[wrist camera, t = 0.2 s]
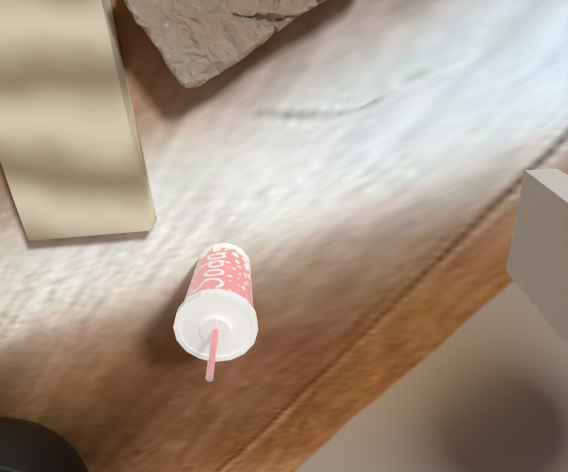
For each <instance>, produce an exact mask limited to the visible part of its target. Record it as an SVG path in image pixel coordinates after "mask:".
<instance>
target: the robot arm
mask: <svg viewBox="0 0 568 472" xmlns="http://www.w3.org/2000/svg"><path fill="white" fill-rule="evenodd" d="M506 272H507V273H508V274H509V275H510V276H511V278H512V279H513V280H514V281H515V283H516V284H517V285H518V286H519V288H520V289H521V290H522V291H523V293H524V294H525V295H526V296H527V297H528V299H529V300H530V301H531V302H532V304H533V305H534V306H535V307H536V309H537V310H538V311H539V312H540V314H541V315H542V316H543V317H544V318H545V320H546V321H547V322H548V323H549V325H550V326H551V327H552V328H553V330H554V331H555V332H556V333H557V335H558V336H559V337H560V338H561V339H562V341H563V342H564V343H565V344H566V346H567V347H568V175H566V174H565V173H563V172H562V171H560V170H559V169H542V170H525V173H524V178H523V184H522V189H521V194H520V199H519V204H518V210H517V215H516V220H515V225H514V230H513V235H512V241H511V246H510V251H509V256H508V261H507V266H506Z"/></svg>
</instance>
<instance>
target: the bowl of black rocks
mask: <svg viewBox="0 0 568 472" xmlns="http://www.w3.org/2000/svg"><path fill="white" fill-rule="evenodd" d="M0 472H88V470H87V468H86V466H85V464H84V462H83V461H82V459H81V457H80V456H79V455H78V454H77V452H76V451H75V450H74V449H73V447H72V446H71V445H70V444H69V443H67V442H66V441H65V440H64V439H63V438H61V437H60V436H59V435H57V434H56V433H54V432H52V431H51V430H49V429H47V428H45V427H42V426H40V425H37V424H34V423H31V422H28V421H23V420H17V419H8V418H0Z"/></svg>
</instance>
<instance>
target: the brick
mask: <svg viewBox="0 0 568 472" xmlns="http://www.w3.org/2000/svg"><path fill="white" fill-rule="evenodd" d="M123 1H124V3H125V4H126V6H127V8H128V10H129V11H130V12H131V13H132V15H133V17H134V19H135V21H136V22H137V24H138V25H140V26H141V27H142V28H143V29H144V31H145V32H146V34H147V35H148V37H149V38H150V40H151V42H152V43H153V44H154V45H155V46H156V47H157V49H158V50H159V52H160V53H161V55H162V58H163V60H164V61H165V63H166V65H167V67H168V68H169V69H170V70H171V72H172V74H173V75H174V76H175V77H176V79H177V80H178V82H179V83H180V84H181V85H182V86H184V87H185V88H197V87H199V86H201V85H202V84H204V83H206V82H207V81H208V80H209V79H211V78H213V77H215V76H217V75H219V74H220V73H222V72H223V71H224V70H226V69H228V68H229V67H231V66H233V65H234V64H236V63H237V62H239V61H240V60H242V59H243V58H244V57H246V56H247V55H248V54H249V53H251V52H252V51H253V50H254V49H255V48H257V47H258V46H260V45H262V44H263V43H265V42H266V41H267V40H268V38H269V37H270V36H271V35H272V34H273V33H274V32H275V31H276V32H278V31H280V30H281V29H283V28H284V27H285V26H286V25H288V24H289V23H290V22H292V21H293V20H294V19H295V18H296V17H298V16H300V15H302V14H304V13H306V12H307V11H309V10H311V9H313V8H314V7H316V6H317V5H319V4H321V3H323V2H325V1H326V0H123Z"/></svg>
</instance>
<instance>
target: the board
mask: <svg viewBox="0 0 568 472" xmlns="http://www.w3.org/2000/svg"><path fill="white" fill-rule="evenodd" d="M0 162H1V165H2V168H3V171H4V174H5V177H6V179H7V182H8V185H9V188H10V191H11V193H12V196H13V199H14V202H15V205H16V207H17V210H18V213H19V216H20V219H21V222H22V224H23V227H24V230H25V233H26V236H27V238H28V241H34V240H46V239H58V238H70V237H81V236H93V235H105V234H117V233H129V232H141V231H152V230H153V228H154V225H155V223H156V221H157V218H156V213H155V208H154V204H153V199H152V194H151V190H150V185H149V180H148V176H147V171H146V166H145V162H144V157H143V152H142V148H141V143H140V138H139V134H138V129H137V124H136V120H135V115H134V110H133V106H132V101H131V97H130V92H129V87H128V83H127V78H126V73H125V69H124V64H123V59H122V55H121V50H120V45H119V41H118V36H117V31H116V27H115V22H114V17H113V13H112V8H111V3H110V0H0Z"/></svg>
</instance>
